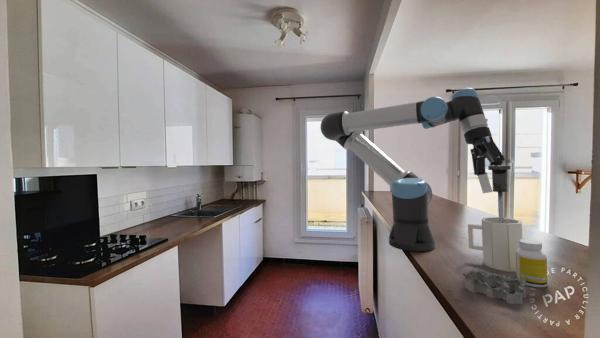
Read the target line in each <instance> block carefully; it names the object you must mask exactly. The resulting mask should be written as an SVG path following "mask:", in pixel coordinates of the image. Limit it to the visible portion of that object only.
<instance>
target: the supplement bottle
mask: <svg viewBox="0 0 600 338" xmlns="http://www.w3.org/2000/svg"><path fill="white" fill-rule="evenodd" d="M519 246H520V247H521V248H519V249H517V250H516V272H515V275H516V277H515V278H517V279H526V285H525V286H528V287H533V288H546V287H547V286H548V262H547V260H548V257H547V255H546V253H545V252H544V251H542V250H543V243H542V242H541V241H539V240H536V239H528V238H525V239H521V240H519Z"/></svg>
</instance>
